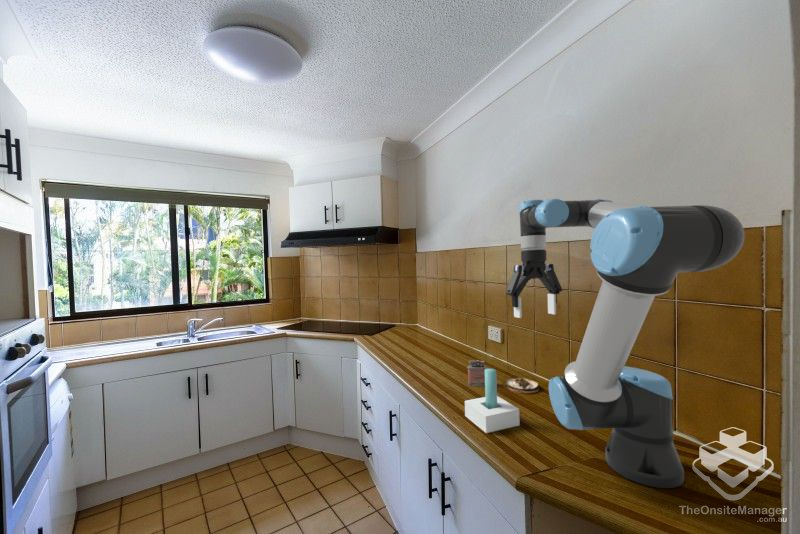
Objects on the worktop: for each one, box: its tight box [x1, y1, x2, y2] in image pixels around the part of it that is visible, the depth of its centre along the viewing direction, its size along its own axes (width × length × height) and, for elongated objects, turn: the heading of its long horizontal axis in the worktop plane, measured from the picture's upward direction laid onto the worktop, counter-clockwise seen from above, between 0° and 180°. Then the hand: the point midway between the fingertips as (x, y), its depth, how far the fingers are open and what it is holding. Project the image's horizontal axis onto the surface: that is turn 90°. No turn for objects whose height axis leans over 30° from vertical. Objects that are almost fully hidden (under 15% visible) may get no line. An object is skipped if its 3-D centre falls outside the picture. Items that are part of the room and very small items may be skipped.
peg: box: [484, 368, 498, 409], centre depth 105 cm, size 4×4×16 cm
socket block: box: [464, 395, 521, 434], centre depth 105 cm, size 12×12×5 cm
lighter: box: [466, 359, 488, 387], centre depth 136 cm, size 8×3×10 cm, turn 84°
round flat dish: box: [505, 377, 540, 395], centre depth 131 cm, size 15×15×4 cm
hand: (535, 315), depth 106 cm, fingers open, 13 cm apart
